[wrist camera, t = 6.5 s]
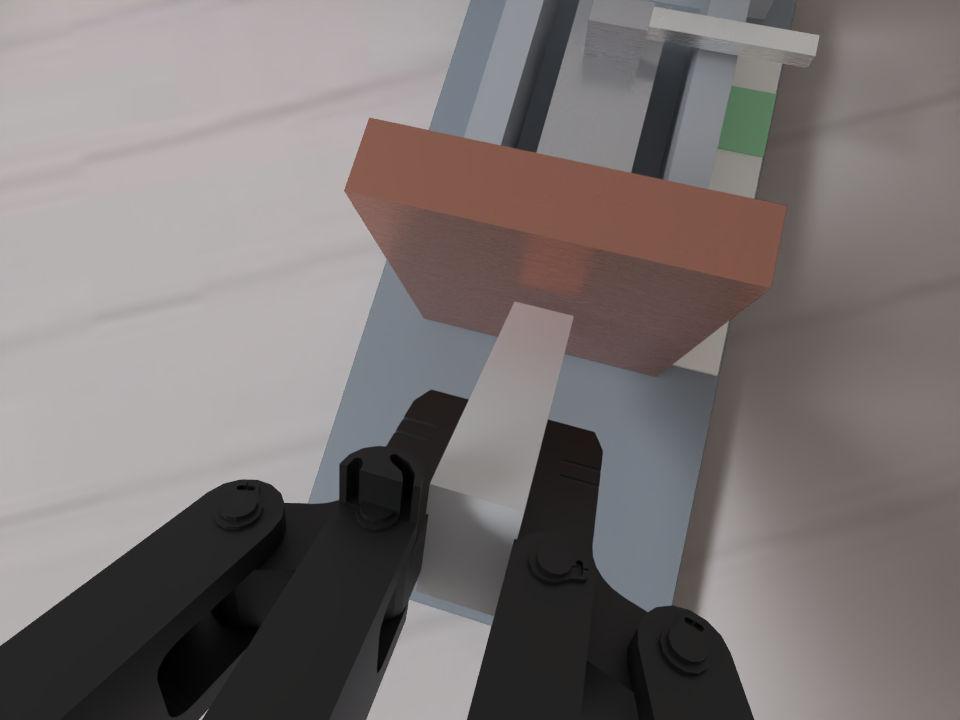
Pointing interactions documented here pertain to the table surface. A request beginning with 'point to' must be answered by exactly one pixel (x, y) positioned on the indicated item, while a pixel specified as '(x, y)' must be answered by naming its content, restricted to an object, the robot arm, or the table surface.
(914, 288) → the table surface
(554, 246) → the plunger
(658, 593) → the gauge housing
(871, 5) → the table surface
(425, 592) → the robot arm
